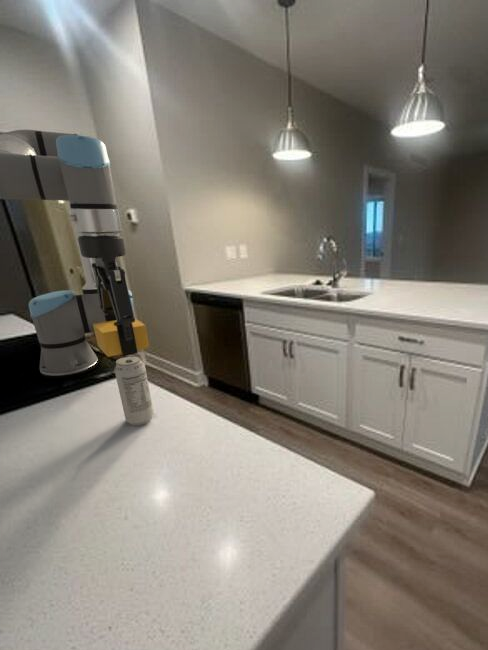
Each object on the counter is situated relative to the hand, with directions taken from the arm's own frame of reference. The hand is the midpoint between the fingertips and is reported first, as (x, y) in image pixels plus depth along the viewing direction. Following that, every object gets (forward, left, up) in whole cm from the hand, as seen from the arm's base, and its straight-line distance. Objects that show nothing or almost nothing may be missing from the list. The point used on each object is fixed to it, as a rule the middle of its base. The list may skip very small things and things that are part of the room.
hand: (123, 348), depth 73 cm
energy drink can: (0, 0, -18) cm, 18 cm away
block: (0, 0, 0) cm, 0 cm away
